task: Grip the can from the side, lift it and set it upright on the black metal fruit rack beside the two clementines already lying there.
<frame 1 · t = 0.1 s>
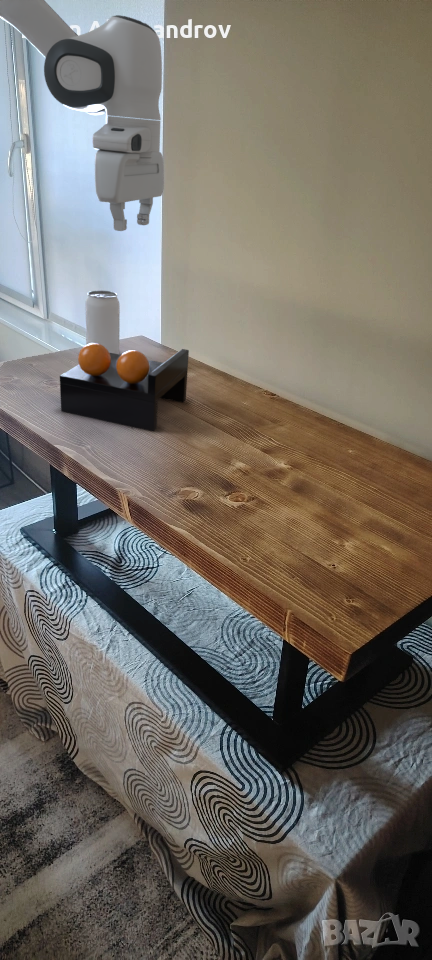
hand: (132, 227, 110), 25 cm above the table, tool pointing down, fingers open, 8 cm apart
can: (103, 355, 125), on the table
rack: (125, 405, 104), on the table
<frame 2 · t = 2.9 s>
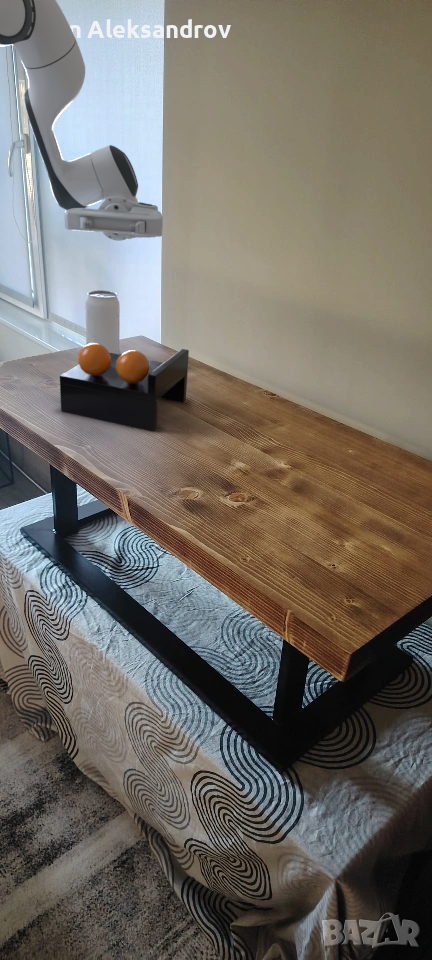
hand: (110, 227, 124), 22 cm above the table, tool horizontal, fingers open, 8 cm apart
nothing on the table moved.
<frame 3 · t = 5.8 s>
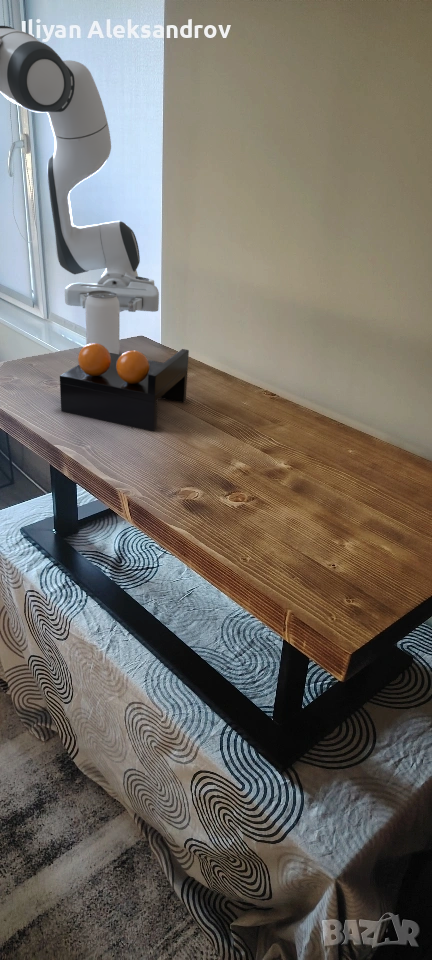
hand: (108, 306, 130), 7 cm above the table, tool horizontal, fingers open, 8 cm apart
nothing on the table moved.
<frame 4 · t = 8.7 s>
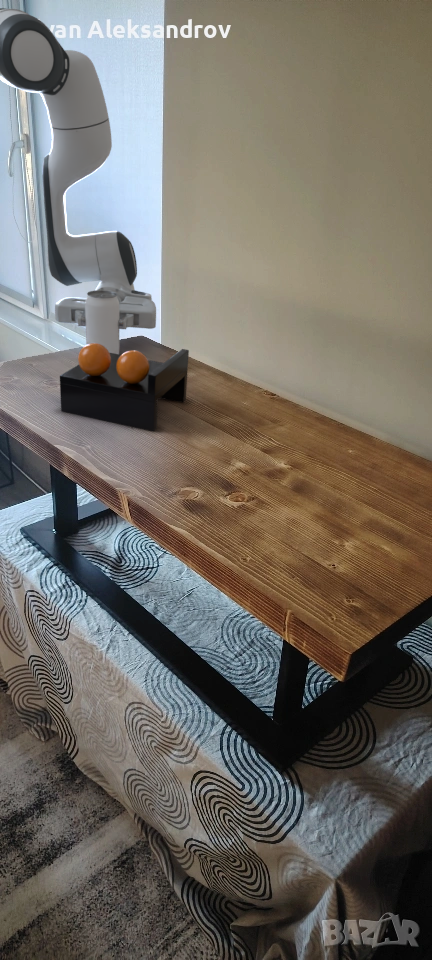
hand: (102, 323, 121), 7 cm above the table, tool horizontal, fingers closed on can, 6 cm apart
can: (103, 355, 125), on the table, touching gripper
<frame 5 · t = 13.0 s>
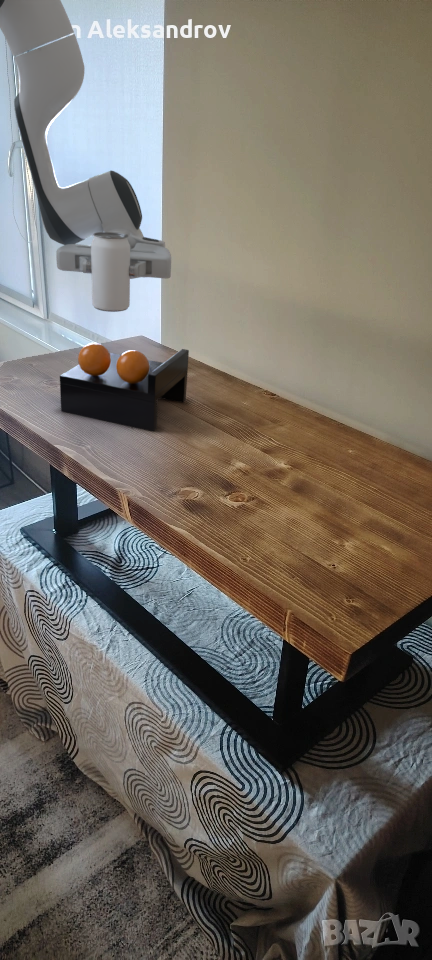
hand: (110, 270, 106), 19 cm above the table, tool horizontal, fingers closed on can, 6 cm apart
can: (111, 308, 110), point 12 cm above the table, touching gripper
when the fingers open (13 cm above the table, at t = 17.3 s): can stays where it is, resting on rack.
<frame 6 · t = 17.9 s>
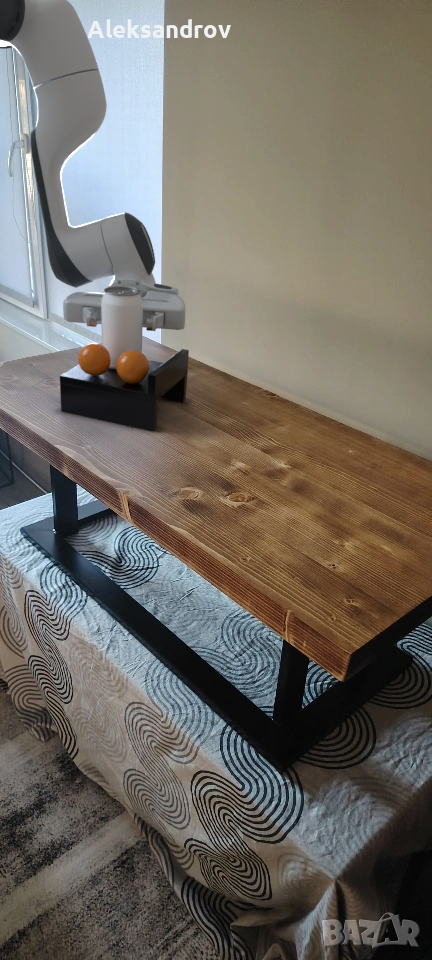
hand: (121, 323, 99), 13 cm above the table, tool horizontal, fingers open, 8 cm apart
can: (121, 365, 103), point 6 cm above the table, touching rack
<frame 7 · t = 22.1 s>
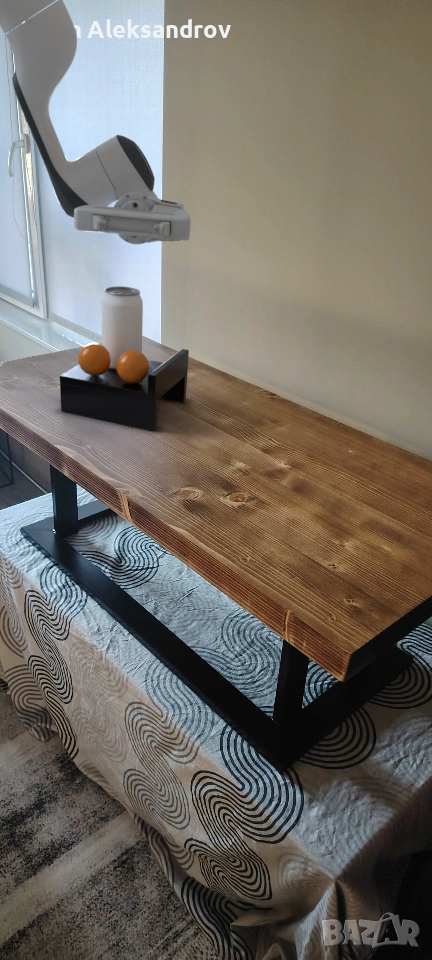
hand: (129, 228, 104), 25 cm above the table, tool horizontal, fingers open, 8 cm apart
nothing on the table moved.
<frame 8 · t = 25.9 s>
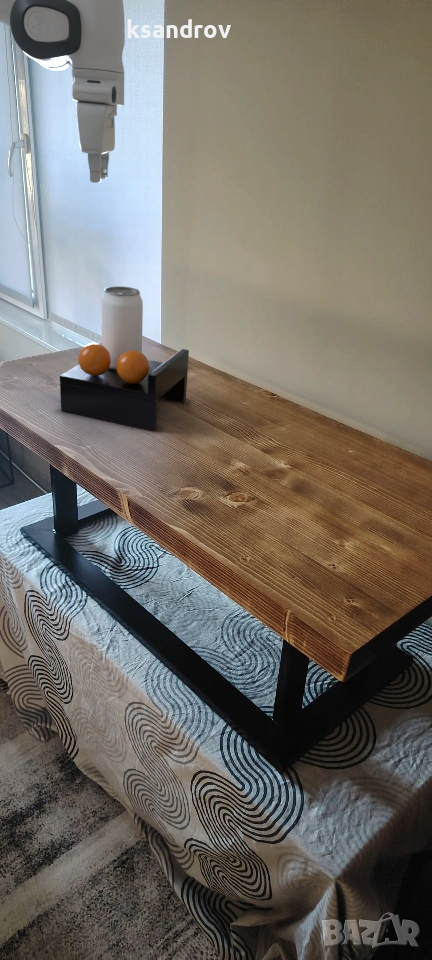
hand: (99, 180, 114), 31 cm above the table, tool pointing down, fingers open, 8 cm apart
nothing on the table moved.
at the end: can inside the target area on the rack (0.2 cm from its centre), point 5.8 cm above the rack's base; can tilted 0°; the gripper is holding nothing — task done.
